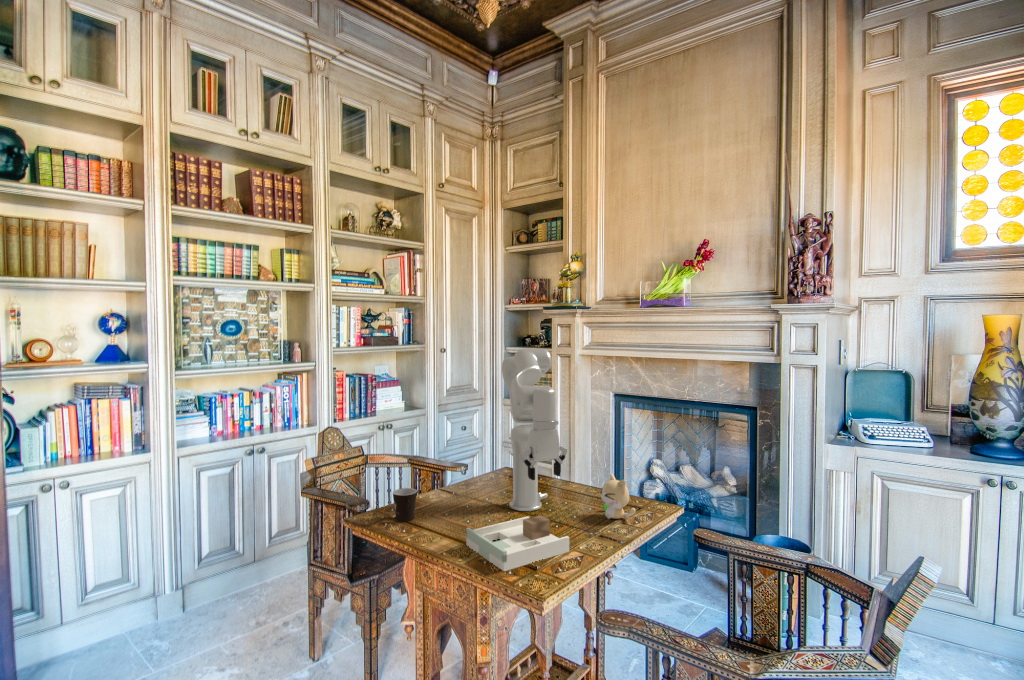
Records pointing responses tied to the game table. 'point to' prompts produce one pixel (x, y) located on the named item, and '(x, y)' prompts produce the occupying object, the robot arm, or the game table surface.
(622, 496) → the kitten
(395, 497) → the coffee mug
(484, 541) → the board
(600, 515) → the game table surface
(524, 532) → the walnut block
